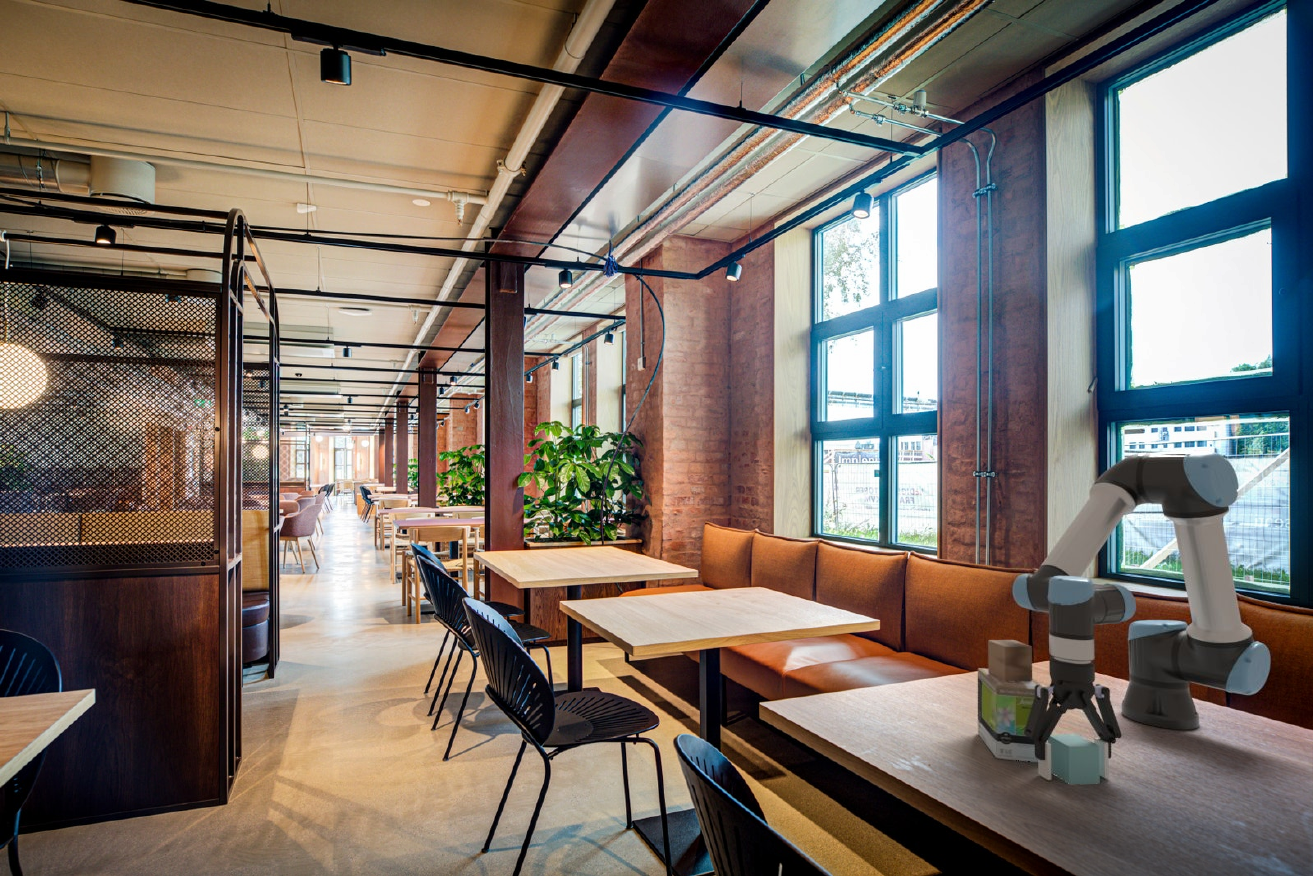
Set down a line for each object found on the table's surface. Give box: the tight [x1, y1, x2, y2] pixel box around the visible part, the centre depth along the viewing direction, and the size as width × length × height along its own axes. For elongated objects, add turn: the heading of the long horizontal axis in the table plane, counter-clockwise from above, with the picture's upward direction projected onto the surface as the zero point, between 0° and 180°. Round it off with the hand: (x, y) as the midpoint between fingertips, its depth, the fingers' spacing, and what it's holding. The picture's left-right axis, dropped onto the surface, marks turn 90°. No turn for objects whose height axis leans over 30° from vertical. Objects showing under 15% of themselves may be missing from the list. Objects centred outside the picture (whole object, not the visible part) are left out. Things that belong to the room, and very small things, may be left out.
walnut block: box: [987, 639, 1033, 681], centre depth 150 cm, size 6×6×7 cm
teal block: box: [1047, 733, 1101, 786], centre depth 135 cm, size 6×6×7 cm
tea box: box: [977, 667, 1048, 763], centre depth 150 cm, size 15×10×15 cm, turn 169°
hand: (1073, 776), depth 135 cm, fingers open, 11 cm apart
